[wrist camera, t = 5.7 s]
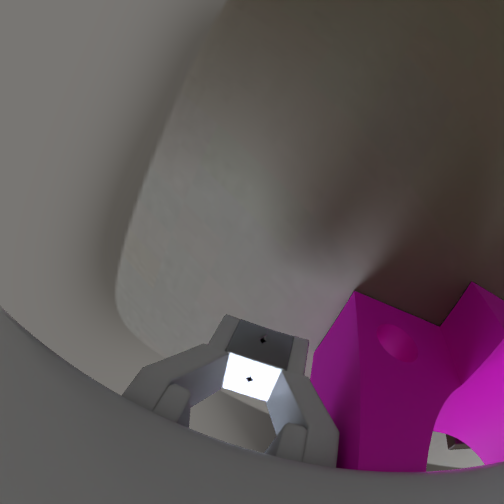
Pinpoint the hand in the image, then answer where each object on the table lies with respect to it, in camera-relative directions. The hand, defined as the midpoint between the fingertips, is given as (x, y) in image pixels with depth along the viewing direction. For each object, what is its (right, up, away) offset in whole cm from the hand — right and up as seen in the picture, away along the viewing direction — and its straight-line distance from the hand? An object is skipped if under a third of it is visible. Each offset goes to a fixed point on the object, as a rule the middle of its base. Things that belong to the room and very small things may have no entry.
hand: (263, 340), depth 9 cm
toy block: (+10, -2, +1) cm, 11 cm away
